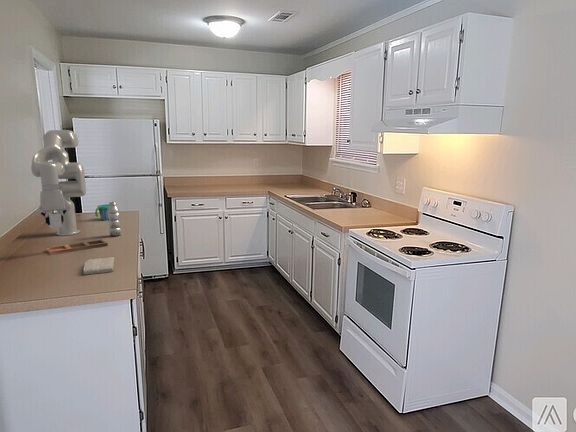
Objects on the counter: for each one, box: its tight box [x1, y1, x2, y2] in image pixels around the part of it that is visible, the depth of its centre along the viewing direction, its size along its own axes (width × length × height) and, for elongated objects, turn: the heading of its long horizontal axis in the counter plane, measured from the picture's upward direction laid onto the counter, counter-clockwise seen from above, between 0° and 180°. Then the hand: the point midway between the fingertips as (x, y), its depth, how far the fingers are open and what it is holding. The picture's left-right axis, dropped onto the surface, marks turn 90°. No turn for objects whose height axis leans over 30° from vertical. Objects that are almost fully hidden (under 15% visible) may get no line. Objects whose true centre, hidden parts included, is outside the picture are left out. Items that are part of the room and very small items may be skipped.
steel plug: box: [48, 211, 62, 229], centre depth 203 cm, size 5×5×7 cm
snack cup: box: [94, 203, 110, 221], centre depth 287 cm, size 16×10×10 cm
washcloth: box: [83, 256, 116, 276], centre depth 179 cm, size 12×18×3 cm, turn 22°
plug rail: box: [45, 238, 109, 256], centre depth 212 cm, size 11×27×2 cm, turn 130°
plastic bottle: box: [107, 201, 122, 237], centre depth 237 cm, size 6×7×20 cm
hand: (55, 223), depth 203 cm, fingers closed on steel plug, 5 cm apart
